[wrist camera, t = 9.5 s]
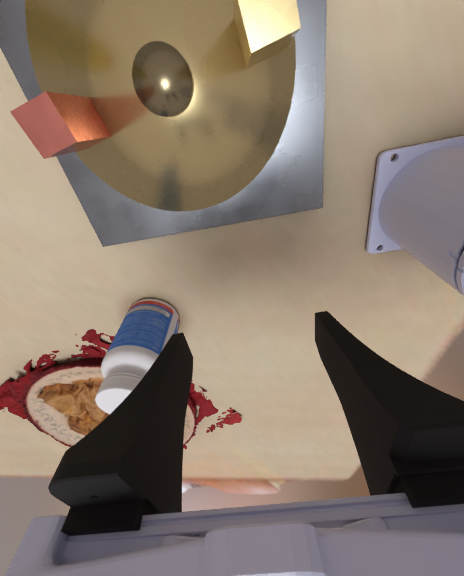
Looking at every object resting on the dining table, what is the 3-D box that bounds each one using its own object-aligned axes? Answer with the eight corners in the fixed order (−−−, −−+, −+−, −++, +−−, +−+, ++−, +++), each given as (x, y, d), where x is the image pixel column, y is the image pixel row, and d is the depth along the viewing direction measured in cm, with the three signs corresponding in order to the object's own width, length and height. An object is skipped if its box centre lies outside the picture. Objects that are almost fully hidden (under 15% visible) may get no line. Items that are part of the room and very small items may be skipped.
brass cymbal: (311, 161, 17) (340, 177, 13) (136, 231, 20) (108, 264, 15) (243, -210, 10) (252, -492, 5) (-18, -16, 13) (-159, -91, 8)
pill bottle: (118, 306, 26) (66, 391, 18) (163, 289, 25) (129, 373, 17) (148, 341, 29) (115, 428, 21) (189, 327, 28) (171, 414, 19)
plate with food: (139, 456, 47) (134, 478, 44) (-11, 394, 35) (-33, 419, 32) (243, 409, 39) (245, 433, 36) (92, 306, 27) (76, 330, 24)
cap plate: (323, -248, 10) (332, -285, 9) (318, 203, 20) (323, 208, 19) (-66, -107, 12) (-91, -125, 11) (107, 241, 22) (102, 247, 21)
